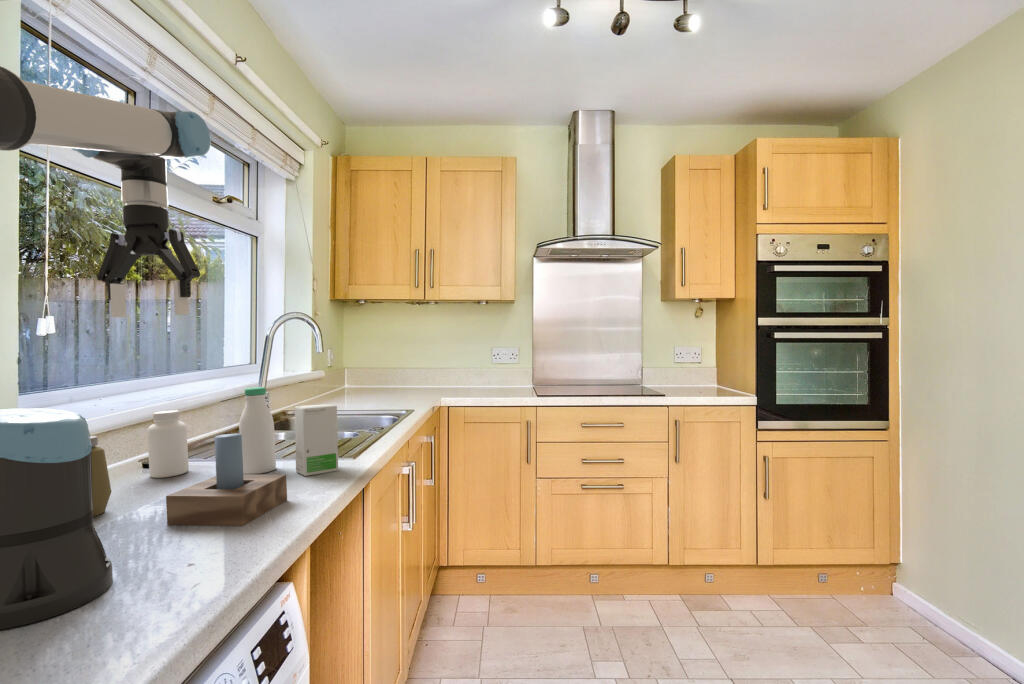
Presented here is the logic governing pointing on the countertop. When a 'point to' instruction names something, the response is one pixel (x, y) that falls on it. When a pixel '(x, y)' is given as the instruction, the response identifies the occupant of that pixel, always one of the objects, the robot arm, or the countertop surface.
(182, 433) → the pill bottle
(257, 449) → the milk bottle
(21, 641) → the countertop surface
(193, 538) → the countertop surface
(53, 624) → the countertop surface
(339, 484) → the countertop surface
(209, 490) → the socket block
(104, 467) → the squeeze bottle
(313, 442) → the skincare box
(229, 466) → the peg
